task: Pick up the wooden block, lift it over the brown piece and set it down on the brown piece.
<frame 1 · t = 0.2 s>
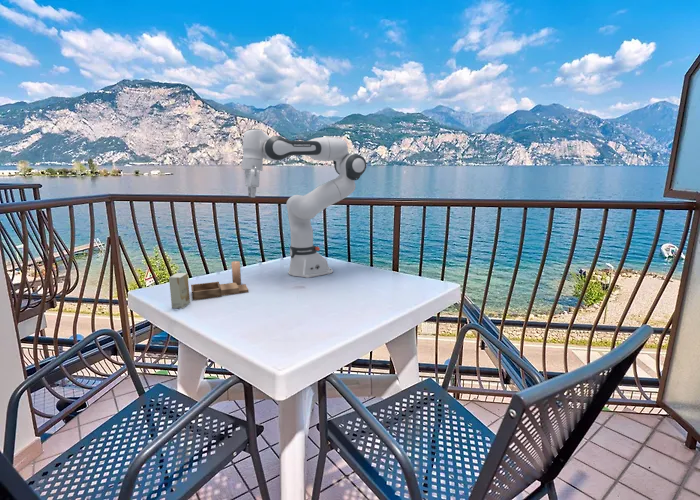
hand: (251, 197, 161), 39 cm above the table, tool pointing down, fingers open, 8 cm apart
skincare box: (181, 306, 135), on the table
brown piece: (220, 292, 149), on the table
wooden block: (237, 284, 160), on the table
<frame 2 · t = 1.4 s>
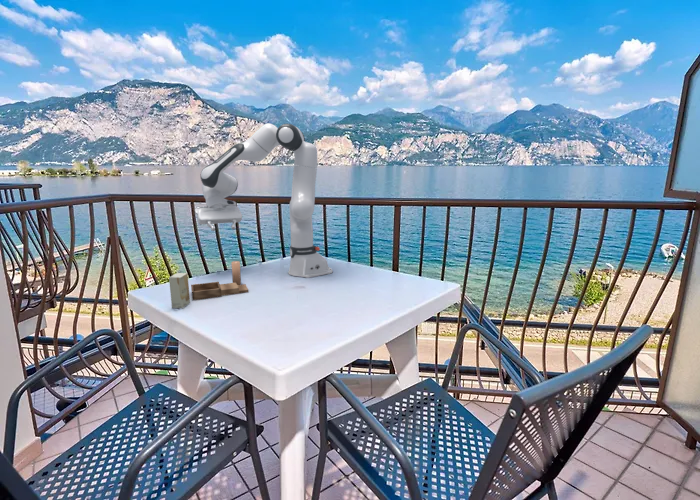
hand: (223, 229, 165), 23 cm above the table, tool tilted 45°, fingers open, 8 cm apart
nothing on the table moved.
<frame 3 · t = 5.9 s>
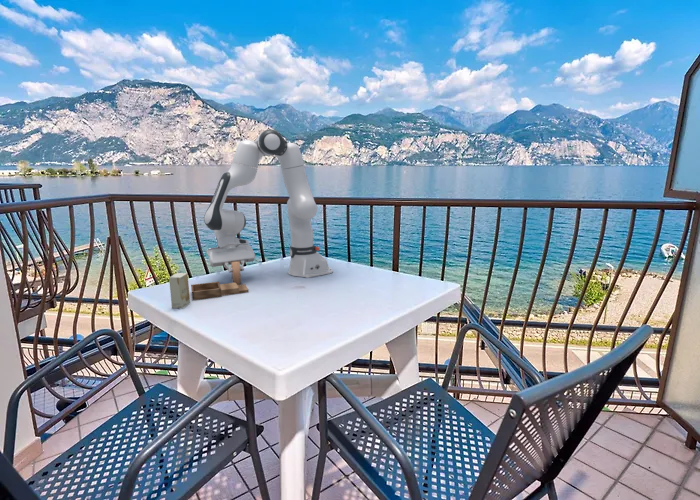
hand: (236, 271, 158), 6 cm above the table, tool tilted 45°, fingers closed on wooden block, 4 cm apart
wooden block: (237, 284, 160), on the table, touching gripper
everything else where it was.
when the fingers open (9 cm above the table, at t = 11.5 s): wooden block drops 2 cm, resting on brown piece.
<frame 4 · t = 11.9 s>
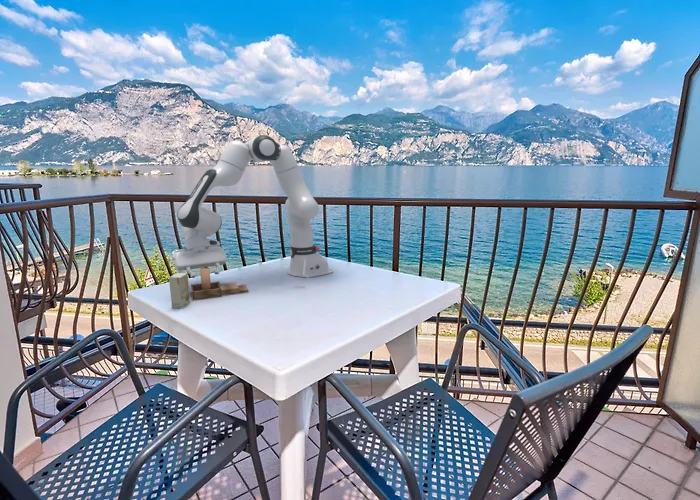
hand: (205, 275, 144), 9 cm above the table, tool tilted 45°, fingers open, 8 cm apart
wooden block: (206, 293, 147), point 1 cm above the table, touching brown piece
everything else where it was.
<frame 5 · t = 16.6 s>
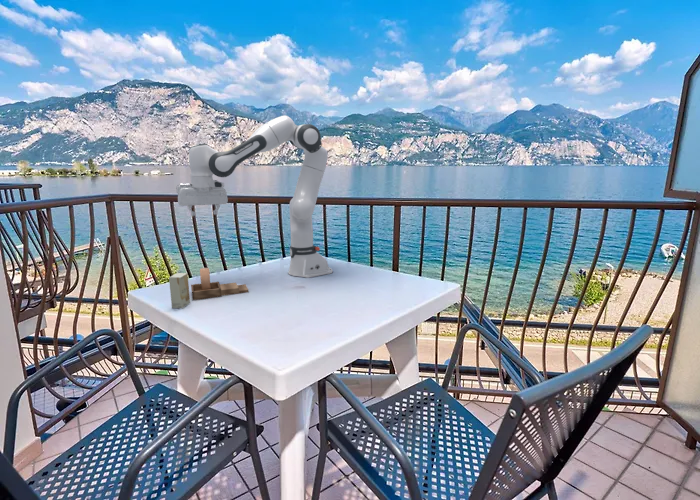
hand: (204, 215, 156), 31 cm above the table, tool pointing down, fingers open, 8 cm apart
nothing on the table moved.
at the end: wooden block inside the target area on the brown piece (0.1 cm from its centre), point 0.6 cm above the brown piece's base; wooden block tilted 0°; the gripper is holding nothing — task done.
